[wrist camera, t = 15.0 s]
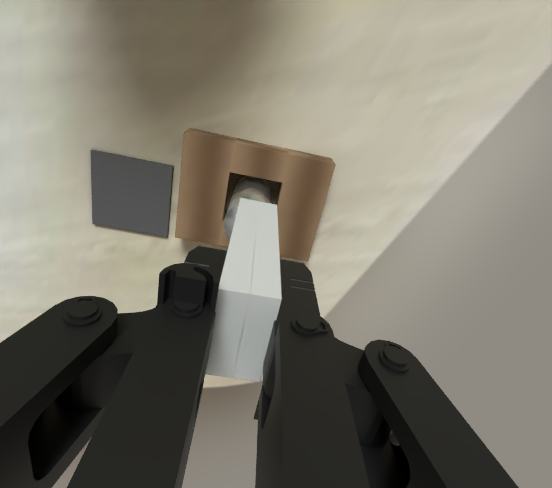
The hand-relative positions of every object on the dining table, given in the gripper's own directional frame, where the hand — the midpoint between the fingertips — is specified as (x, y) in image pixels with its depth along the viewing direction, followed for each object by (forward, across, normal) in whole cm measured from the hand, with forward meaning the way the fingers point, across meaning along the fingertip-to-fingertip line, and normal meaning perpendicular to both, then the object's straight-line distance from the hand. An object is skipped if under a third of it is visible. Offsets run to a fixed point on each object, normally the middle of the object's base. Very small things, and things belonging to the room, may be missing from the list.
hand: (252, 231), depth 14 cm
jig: (+26, 0, -7) cm, 27 cm away
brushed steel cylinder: (+26, 0, -7) cm, 27 cm away
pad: (+26, -14, -10) cm, 32 cm away
